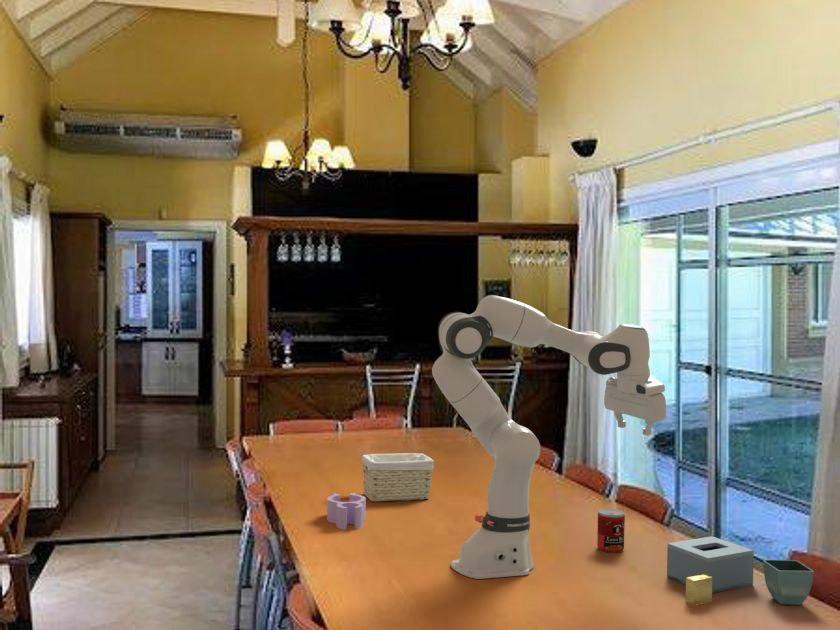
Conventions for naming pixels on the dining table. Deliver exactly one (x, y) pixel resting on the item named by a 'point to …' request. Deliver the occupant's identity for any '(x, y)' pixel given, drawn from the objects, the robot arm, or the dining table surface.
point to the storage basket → (397, 476)
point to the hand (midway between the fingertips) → (634, 430)
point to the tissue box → (711, 562)
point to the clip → (346, 511)
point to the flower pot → (788, 580)
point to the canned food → (611, 530)
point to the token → (698, 589)
